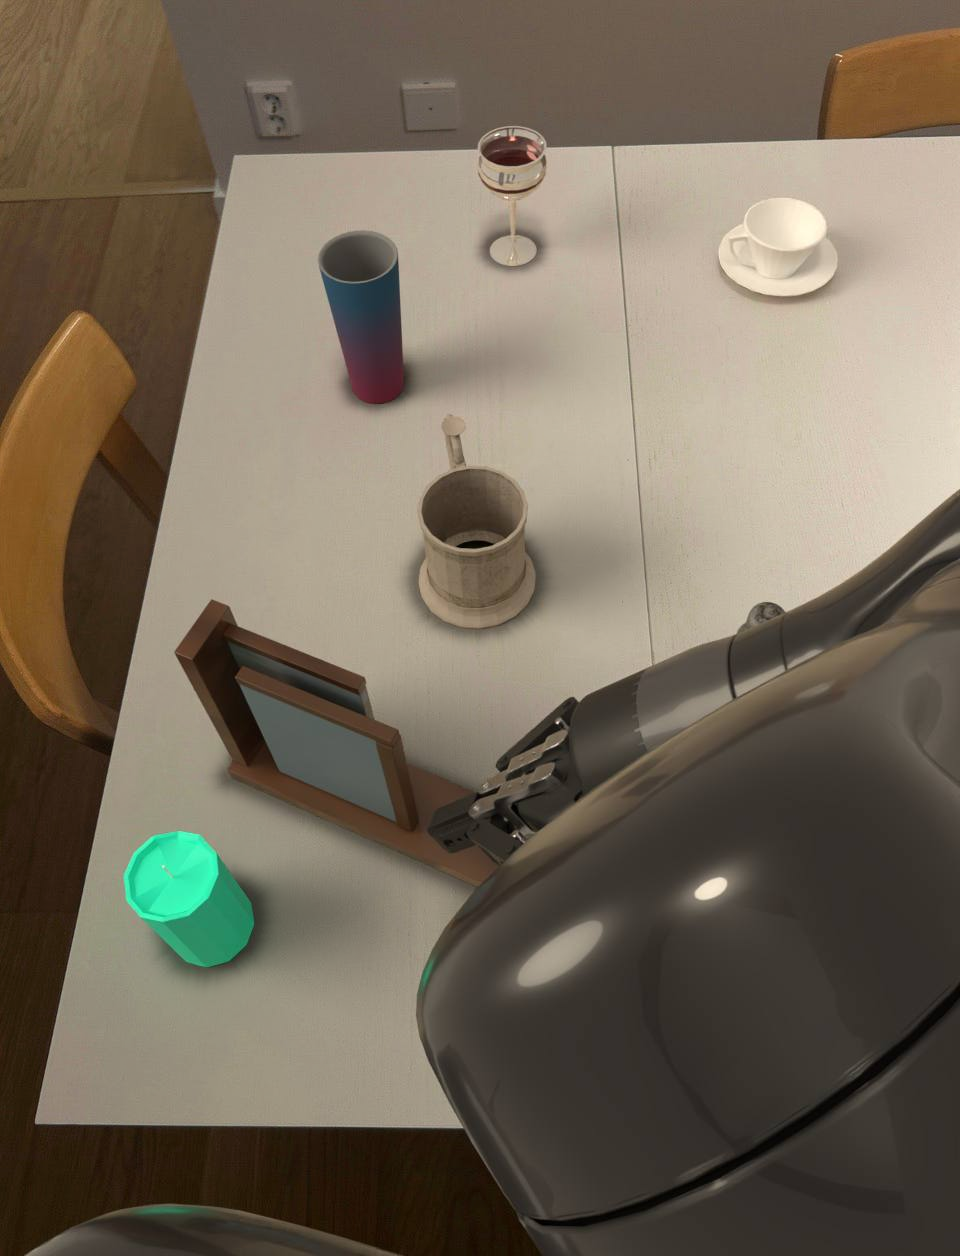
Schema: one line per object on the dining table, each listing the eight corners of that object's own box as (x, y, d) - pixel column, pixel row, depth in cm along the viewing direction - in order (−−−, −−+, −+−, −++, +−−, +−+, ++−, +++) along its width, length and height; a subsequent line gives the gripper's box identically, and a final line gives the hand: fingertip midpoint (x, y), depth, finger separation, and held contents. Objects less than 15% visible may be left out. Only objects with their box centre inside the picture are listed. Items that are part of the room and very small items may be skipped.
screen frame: (493, 894, 75) (486, 796, 61) (231, 777, 81) (166, 662, 66) (527, 821, 78) (528, 711, 63) (271, 713, 84) (218, 589, 69)
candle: (249, 966, 73) (205, 914, 63) (163, 968, 73) (105, 915, 63) (258, 882, 76) (218, 819, 66) (176, 883, 77) (123, 820, 66)
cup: (417, 361, 104) (403, 231, 91) (408, 412, 100) (391, 284, 88) (349, 358, 104) (325, 228, 92) (337, 409, 101) (311, 281, 88)
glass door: (411, 832, 76) (390, 744, 64) (277, 773, 79) (233, 678, 67) (419, 817, 77) (399, 727, 65) (286, 760, 80) (243, 663, 67)
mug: (547, 615, 88) (551, 526, 78) (431, 638, 87) (419, 552, 77) (507, 483, 95) (506, 387, 85) (400, 504, 94) (385, 409, 84)
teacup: (695, 248, 111) (702, 204, 107) (794, 216, 114) (805, 172, 109) (754, 320, 105) (764, 277, 101) (858, 285, 108) (872, 241, 103)
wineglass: (558, 249, 112) (562, 145, 102) (512, 280, 110) (511, 177, 100) (513, 221, 115) (512, 117, 105) (467, 250, 112) (462, 147, 102)
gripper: (714, 890, 47) (444, 966, 57) (748, 701, 57) (513, 794, 67) (613, 777, 45) (351, 877, 55) (667, 600, 55) (436, 713, 65)
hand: (440, 831), depth 61 cm, fingers closed
